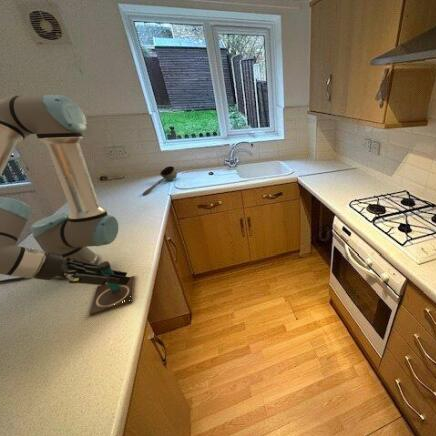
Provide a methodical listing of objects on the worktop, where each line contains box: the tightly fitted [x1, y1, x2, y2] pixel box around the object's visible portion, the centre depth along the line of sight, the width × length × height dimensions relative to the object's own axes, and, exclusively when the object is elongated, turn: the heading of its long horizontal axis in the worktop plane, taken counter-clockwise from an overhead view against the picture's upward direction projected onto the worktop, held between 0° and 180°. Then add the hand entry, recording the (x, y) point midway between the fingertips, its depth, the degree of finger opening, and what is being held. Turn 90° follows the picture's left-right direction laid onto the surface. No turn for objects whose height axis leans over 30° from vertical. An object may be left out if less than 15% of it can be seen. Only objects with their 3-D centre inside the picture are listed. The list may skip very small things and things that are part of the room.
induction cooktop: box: [89, 275, 136, 316], centre depth 86 cm, size 12×14×1 cm
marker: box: [98, 261, 121, 294], centre depth 81 cm, size 3×3×12 cm
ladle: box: [142, 165, 178, 196], centre depth 184 cm, size 12×38×10 cm, turn 171°
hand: (126, 278), depth 85 cm, fingers closed on marker, 3 cm apart
